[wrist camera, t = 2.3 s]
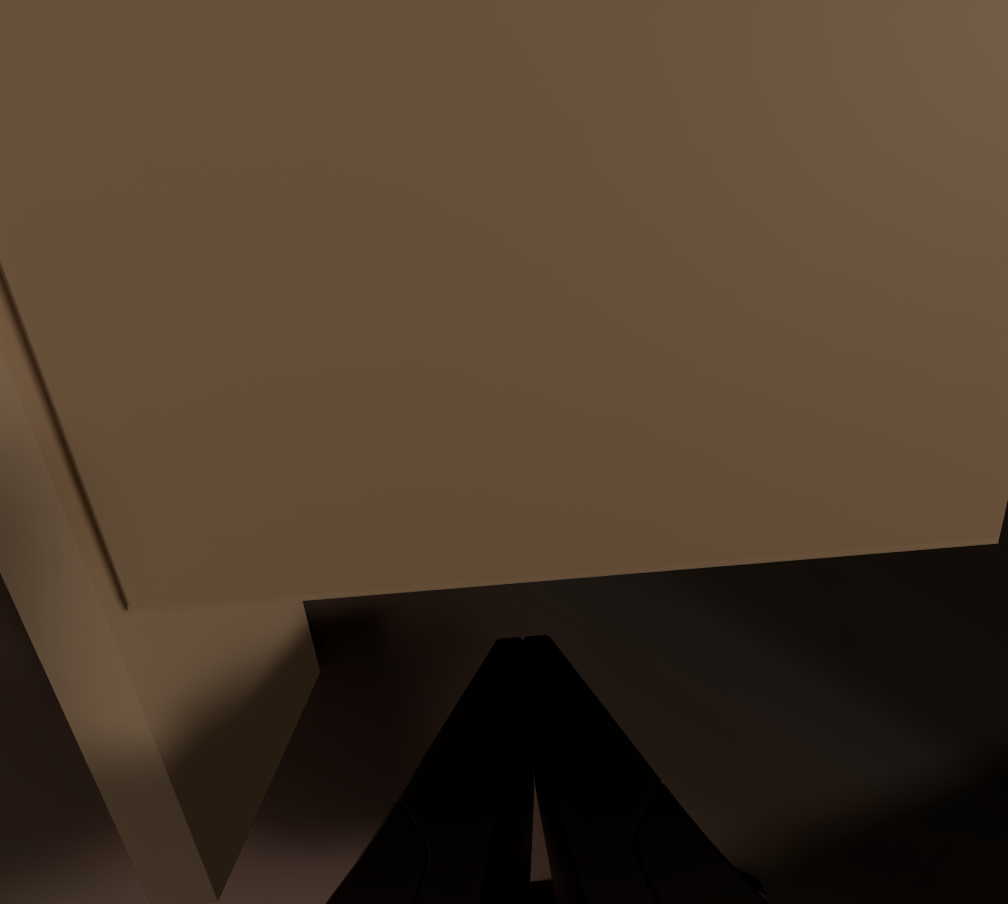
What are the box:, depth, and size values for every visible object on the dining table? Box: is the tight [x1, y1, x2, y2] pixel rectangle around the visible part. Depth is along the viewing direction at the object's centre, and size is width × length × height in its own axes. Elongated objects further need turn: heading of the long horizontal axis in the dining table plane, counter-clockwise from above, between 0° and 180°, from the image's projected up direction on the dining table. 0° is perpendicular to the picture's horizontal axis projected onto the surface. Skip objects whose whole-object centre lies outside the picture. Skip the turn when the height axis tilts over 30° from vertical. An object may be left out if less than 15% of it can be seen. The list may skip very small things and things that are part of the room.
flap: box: [0, 270, 320, 904], centre depth 8 cm, size 14×1×5 cm, turn 5°
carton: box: [0, 0, 1008, 615], centre depth 7 cm, size 10×10×5 cm
